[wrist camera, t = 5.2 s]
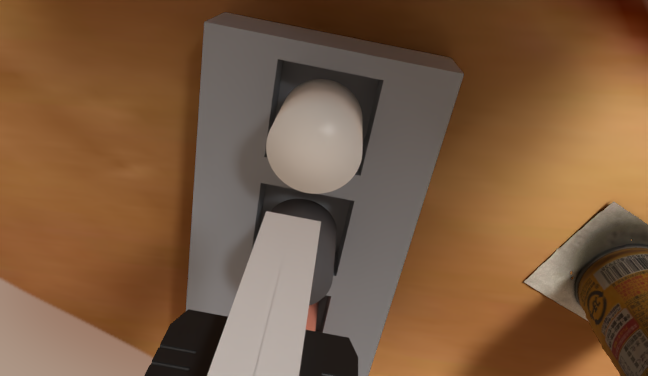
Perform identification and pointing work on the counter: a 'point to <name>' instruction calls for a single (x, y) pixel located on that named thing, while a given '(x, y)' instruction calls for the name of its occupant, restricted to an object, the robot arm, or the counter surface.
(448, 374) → the counter surface
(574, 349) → the counter surface
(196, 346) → the robot arm
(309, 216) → the black button
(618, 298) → the condiment
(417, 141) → the button board
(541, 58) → the counter surface
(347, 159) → the white button
